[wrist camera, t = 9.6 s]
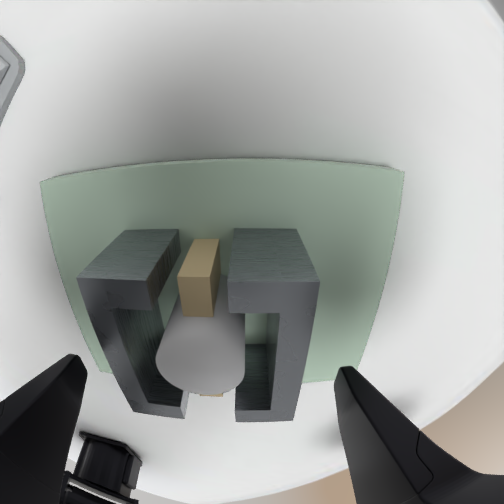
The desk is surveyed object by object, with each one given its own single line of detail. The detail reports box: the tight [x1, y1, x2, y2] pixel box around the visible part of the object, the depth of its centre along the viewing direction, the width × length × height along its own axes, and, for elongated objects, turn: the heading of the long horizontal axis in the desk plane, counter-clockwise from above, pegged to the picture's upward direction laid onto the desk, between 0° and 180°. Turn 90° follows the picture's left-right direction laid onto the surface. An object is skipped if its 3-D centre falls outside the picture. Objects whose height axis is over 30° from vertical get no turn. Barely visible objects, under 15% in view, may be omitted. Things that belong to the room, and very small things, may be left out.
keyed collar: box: [76, 228, 320, 422], centre depth 10 cm, size 7×7×4 cm
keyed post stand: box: [40, 158, 404, 397], centre depth 11 cm, size 16×12×5 cm
